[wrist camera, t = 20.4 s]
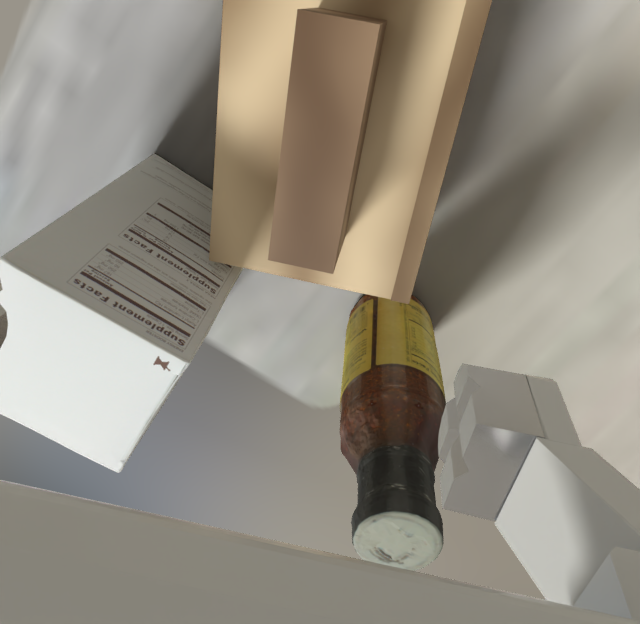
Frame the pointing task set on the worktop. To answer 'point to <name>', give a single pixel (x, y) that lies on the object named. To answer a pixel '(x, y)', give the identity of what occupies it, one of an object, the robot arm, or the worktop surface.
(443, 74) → the lid
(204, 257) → the supplement box
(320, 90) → the walnut batten
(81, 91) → the worktop surface
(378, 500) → the sauce bottle
